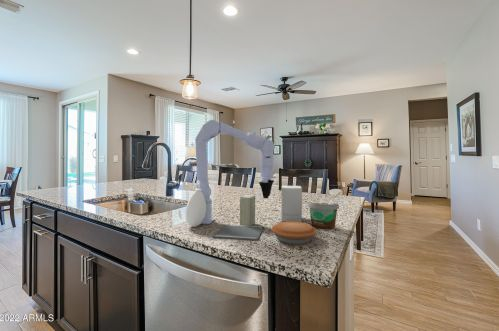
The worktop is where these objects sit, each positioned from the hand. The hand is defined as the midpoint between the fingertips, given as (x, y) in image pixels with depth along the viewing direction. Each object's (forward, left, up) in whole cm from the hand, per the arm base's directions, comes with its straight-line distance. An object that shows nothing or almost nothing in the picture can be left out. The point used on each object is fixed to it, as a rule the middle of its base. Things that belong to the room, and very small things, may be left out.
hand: (266, 196), depth 108 cm
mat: (-8, -20, -10) cm, 24 cm away
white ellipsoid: (-28, -16, -10) cm, 34 cm away
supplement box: (+11, +3, -11) cm, 16 cm away
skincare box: (-7, -9, -11) cm, 16 cm away
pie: (+12, -23, -11) cm, 28 cm away
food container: (+23, -8, -11) cm, 27 cm away
